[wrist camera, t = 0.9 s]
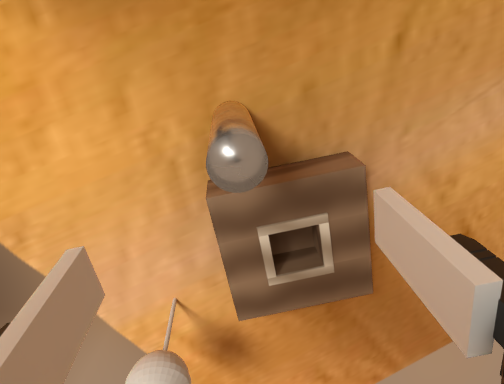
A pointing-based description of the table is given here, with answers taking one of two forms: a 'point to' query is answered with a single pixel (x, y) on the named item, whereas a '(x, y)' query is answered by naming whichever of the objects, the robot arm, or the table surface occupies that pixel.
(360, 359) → the table surface
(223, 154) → the pin
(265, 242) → the bore block
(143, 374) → the lollipop
